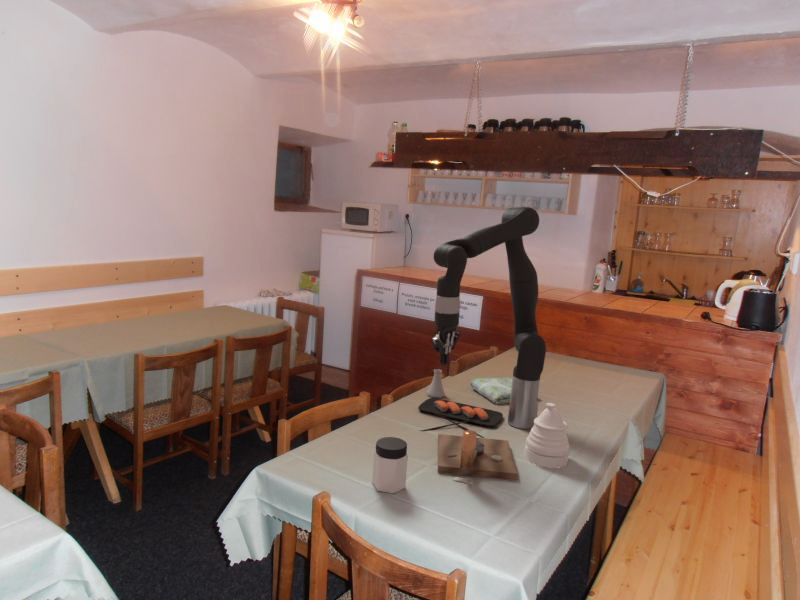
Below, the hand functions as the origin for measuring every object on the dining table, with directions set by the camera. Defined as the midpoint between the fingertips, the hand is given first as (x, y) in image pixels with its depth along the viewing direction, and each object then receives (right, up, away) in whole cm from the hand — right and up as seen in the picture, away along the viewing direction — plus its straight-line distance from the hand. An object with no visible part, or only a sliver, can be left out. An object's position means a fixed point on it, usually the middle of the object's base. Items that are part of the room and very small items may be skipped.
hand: (444, 364), depth 180 cm
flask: (0, -17, +45) cm, 48 cm away
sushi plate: (+5, -23, +20) cm, 31 cm away
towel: (+28, -18, +52) cm, 61 cm away
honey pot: (+31, -29, -4) cm, 42 cm away
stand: (+8, -28, -10) cm, 31 cm away
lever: (+7, -26, -15) cm, 31 cm away
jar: (-17, -29, -27) cm, 43 cm away
